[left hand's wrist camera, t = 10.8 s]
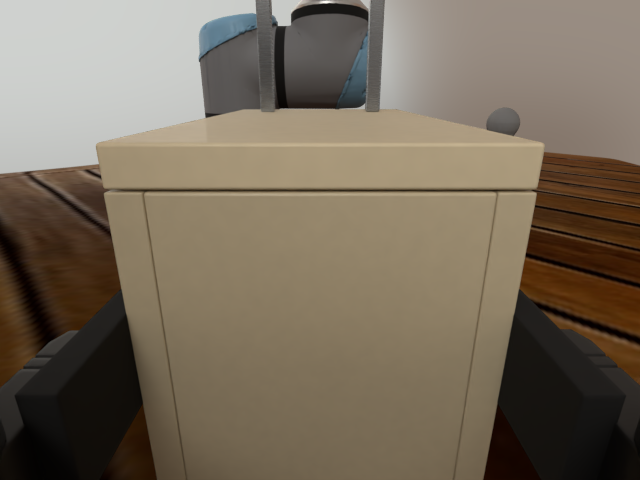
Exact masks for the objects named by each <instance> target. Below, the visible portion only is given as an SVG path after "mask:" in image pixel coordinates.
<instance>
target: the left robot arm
mask: <svg viewBox="0 0 640 480" xmlns="http://www.w3.org/2000/svg"><path fill="white" fill-rule="evenodd" d="M497 403H498V405H499V406H500V408H501V410H502V412H503V413H504V415H505V417H506V419H507V420H508V422H509V424H510V426H511V427H512V429H513V431H514V433H515V435H516V436H517V438H518V440H519V442H520V443H521V445H522V447H523V449H524V450H525V452H526V454H527V456H528V457H529V459H530V461H531V463H532V464H533V466H534V468H535V470H536V472H537V473H538V475H539V477H540V479H541V480H640V385H639V384H638V383H636V382H635V381H634V380H633V379H632V378H631V377H630V376H629V375H628V374H627V373H626V372H624V371H623V370H622V369H621V368H618V367H617V364H616V363H615V362H614V361H613V360H611V359H610V358H609V357H606V355H605V353H604V352H603V351H602V350H601V349H600V348H598V347H597V346H596V345H595V344H594V343H593V342H592V341H591V340H589V339H587V338H585V337H584V336H582V335H580V334H578V333H577V332H575V331H573V330H571V329H559V328H558V327H557V326H556V325H555V324H554V323H553V322H552V321H551V320H550V319H549V318H548V317H547V316H546V315H545V314H544V313H543V312H542V311H541V310H540V309H539V308H538V307H537V306H536V305H535V304H534V303H533V302H532V301H531V300H530V299H529V298H528V297H527V296H526V295H525V294H524V293H523V292H522V291H521V290H520V289H519V292H518V297H517V302H516V308H515V313H514V316H513V322H512V327H511V332H510V338H509V343H508V348H507V354H506V359H505V364H504V370H503V375H502V380H501V386H500V391H499V396H498V402H497ZM142 404H143V399H142V394H141V389H140V383H139V378H138V373H137V367H136V362H135V357H134V351H133V346H132V340H131V335H130V330H129V324H128V319H127V314H126V310H125V305H124V299H123V294H122V289H121V290H120V291H119V292H118V293H117V294H116V295H115V296H114V297H112V298H111V299H110V300H109V301H108V302H107V303H106V304H105V305H104V306H103V307H102V308H101V309H100V310H99V311H98V312H97V313H96V314H95V315H94V316H93V317H92V318H91V319H90V320H89V321H88V322H87V323H86V324H85V325H84V326H83V327H82V328H81V329H80V330H79V331H68V332H67V333H65V334H63V335H61V336H60V337H58V338H56V339H54V340H53V341H51V342H49V343H48V344H47V345H46V346H45V347H44V348H43V349H42V350H41V351H40V352H39V353H37V354H36V357H35V358H32V359H31V360H30V361H29V362H28V363H27V364H26V365H25V366H24V368H23V369H20V370H19V371H18V372H17V373H16V374H15V375H14V376H13V377H12V378H11V379H9V380H8V381H7V382H6V383H5V384H4V385H3V386H2V387H1V388H0V480H99V479H100V478H101V476H102V474H103V472H104V471H105V469H106V467H107V465H108V464H109V462H110V460H111V458H112V456H113V455H114V453H115V451H116V449H117V448H118V446H119V444H120V442H121V441H122V439H123V437H124V435H125V434H126V432H127V430H128V428H129V427H130V425H131V423H132V421H133V419H134V418H135V416H136V414H137V412H138V411H139V409H140V407H141V405H142Z"/></svg>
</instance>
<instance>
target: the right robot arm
mask: <svg viewBox="0 0 640 480" xmlns="http://www.w3.org/2000/svg"><path fill="white" fill-rule="evenodd" d="M368 19H369V10H368V9H367V7H366V6H365V5H364V4H363V3H362V2H361V1H360V0H300V2H299V3H298V4H297V5H296V6H295V7H294V8H293V9H292V11H291V26H278V22H277V21H276V18H275V17H274V16H273V15H272V34H273V62H274V90H275V109H282V108H283V109H284V108H288V109H342V108H358V107H361V106H362V105H364V104H365V101H366V73H367V46H368ZM199 49H200V55H199V62H200V66H201V76H202V86H203V97H204V107H205V116H206V118H208V117H213V116H217V115H222V114H226V113H230V112H235V111H239V110H243V109H261V102H260V81H259V60H258V39H257V18H256V14H253V13H250V14H239V15H233V16H227V17H222V18H218V19H215V20H212V21H210V22H208V23H206V24H205V25H204V26H203V27H202V28H201V30H200V33H199Z"/></svg>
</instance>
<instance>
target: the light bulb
mask: <svg viewBox="0 0 640 480" xmlns="http://www.w3.org/2000/svg"><path fill="white" fill-rule="evenodd" d="M486 126H487V130H489V131H493V132H497V133H502V134H506V135H511V136H514V135H515V133H516V132H517V130H518V128H519V126H520V118H519V116H518V114H517V113H516V112H515V111H514V110H512V109H510V108H500V109H497V110H495V111H494V112H493V113H492V114H491V115H490V116H489V118H488V120H487V124H486Z"/></svg>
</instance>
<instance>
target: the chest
mask: <svg viewBox="0 0 640 480" xmlns="http://www.w3.org/2000/svg"><path fill="white" fill-rule="evenodd" d="M536 196H537V195H536V193H535V192H533V191H531V190H110V191H108V192H105V193H104V198H105V203H106V208H107V214H108V219H109V224H110V230H111V235H112V241H113V246H114V251H115V257H116V262H117V267H118V273H119V278H120V283H121V289H122V294H123V299H124V305H125V310H126V314H127V319H128V324H129V330H130V335H131V340H132V346H133V351H134V357H135V362H136V367H137V373H138V378H139V383H140V389H141V394H142V399H143V406H144V412H145V417H146V422H147V428H148V433H149V439H150V444H151V449H152V455H153V460H154V465H155V471H156V476H157V480H483V478H484V473H485V467H486V462H487V457H488V451H489V446H490V441H491V435H492V430H493V425H494V419H495V414H496V409H497V402H498V396H499V391H500V386H501V380H502V375H503V370H504V364H505V359H506V354H507V348H508V343H509V338H510V332H511V327H512V322H513V316H514V313H515V308H516V302H517V297H518V292H519V286H520V281H521V276H522V270H523V265H524V260H525V254H526V249H527V244H528V238H529V233H530V228H531V222H532V217H533V212H534V206H535V201H536Z"/></svg>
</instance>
